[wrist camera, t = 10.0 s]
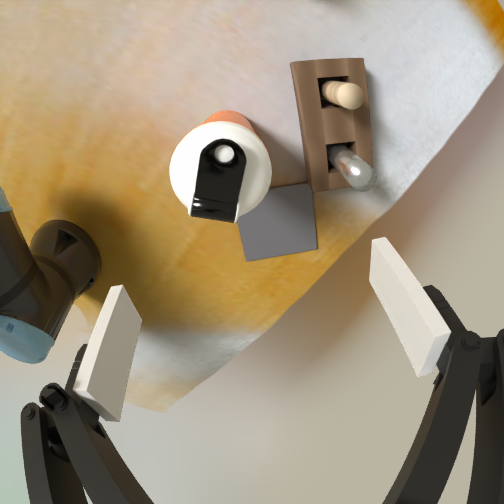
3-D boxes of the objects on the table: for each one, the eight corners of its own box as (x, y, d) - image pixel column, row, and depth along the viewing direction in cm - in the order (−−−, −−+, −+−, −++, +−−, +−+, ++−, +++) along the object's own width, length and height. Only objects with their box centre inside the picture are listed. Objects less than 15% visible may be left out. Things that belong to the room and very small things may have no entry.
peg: (324, 161, 42) (350, 193, 32) (321, 141, 41) (349, 166, 31) (344, 159, 42) (376, 189, 32) (342, 138, 40) (375, 163, 30)
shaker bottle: (261, 105, 38) (280, 132, 21) (257, 165, 42) (270, 236, 26) (195, 103, 37) (159, 130, 20) (195, 164, 42) (166, 234, 25)
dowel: (317, 101, 37) (340, 110, 29) (314, 80, 36) (337, 84, 27) (338, 99, 37) (365, 108, 29) (335, 79, 35) (362, 82, 27)
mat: (246, 260, 51) (246, 261, 51) (231, 195, 45) (231, 196, 45) (316, 247, 51) (317, 249, 50) (310, 181, 44) (311, 182, 44)
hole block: (307, 182, 44) (313, 192, 41) (289, 62, 34) (295, 61, 31) (363, 174, 44) (372, 183, 40) (352, 58, 34) (363, 57, 30)
